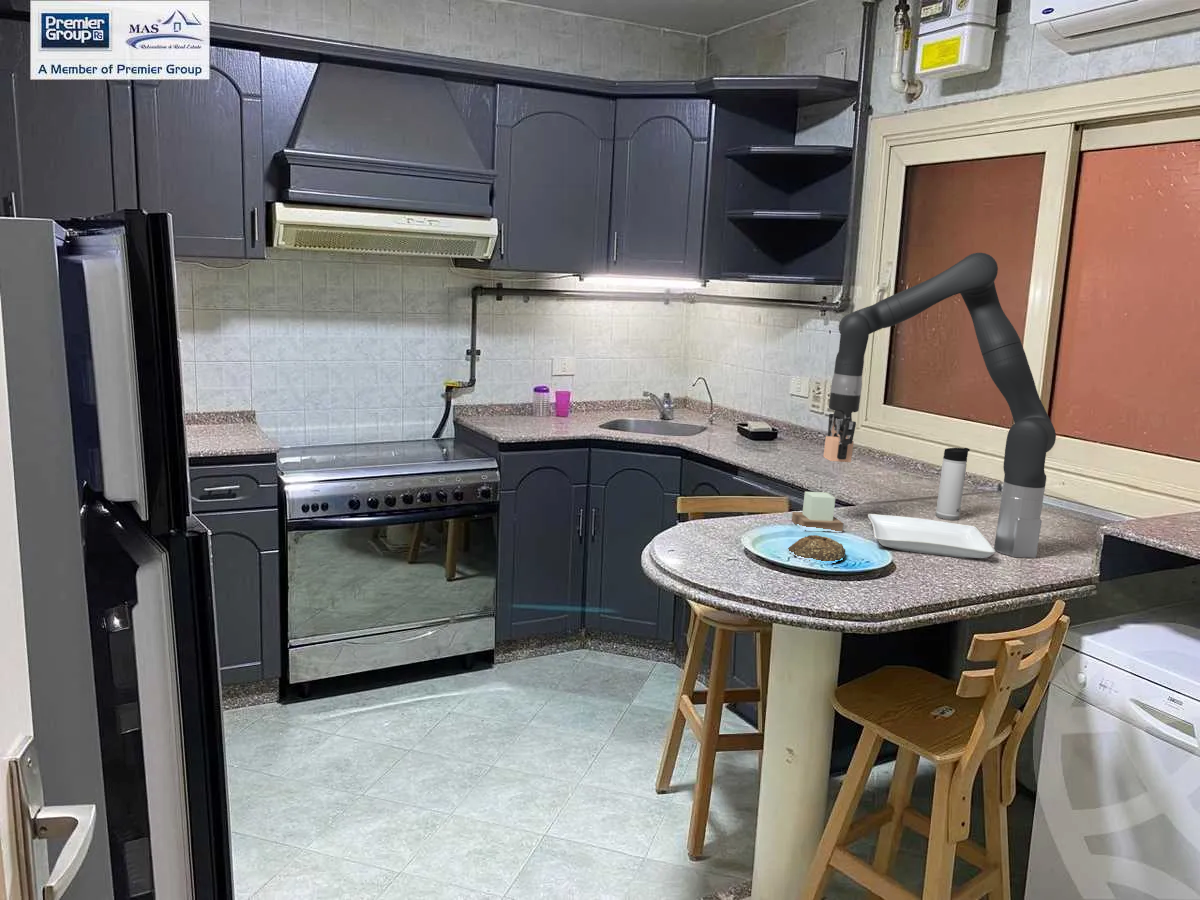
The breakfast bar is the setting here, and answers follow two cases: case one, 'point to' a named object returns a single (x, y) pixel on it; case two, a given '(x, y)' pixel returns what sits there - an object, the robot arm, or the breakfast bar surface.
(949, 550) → the square plate
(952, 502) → the travel mug
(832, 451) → the terracotta block
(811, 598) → the breakfast bar surface
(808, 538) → the bread roll
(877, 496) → the breakfast bar surface
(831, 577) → the breakfast bar surface
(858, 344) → the robot arm
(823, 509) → the sage block
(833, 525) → the walnut slab
